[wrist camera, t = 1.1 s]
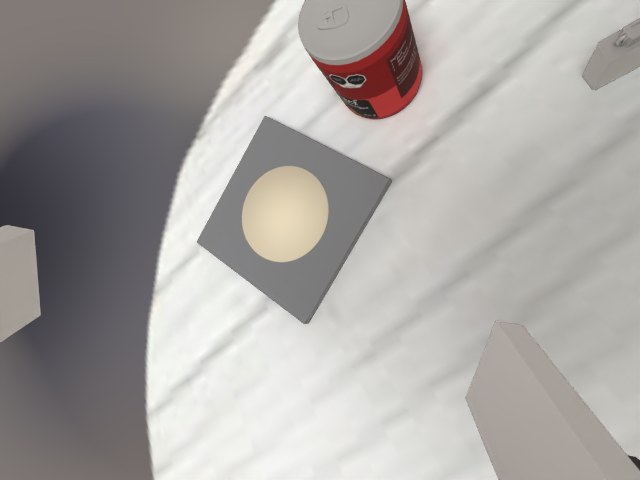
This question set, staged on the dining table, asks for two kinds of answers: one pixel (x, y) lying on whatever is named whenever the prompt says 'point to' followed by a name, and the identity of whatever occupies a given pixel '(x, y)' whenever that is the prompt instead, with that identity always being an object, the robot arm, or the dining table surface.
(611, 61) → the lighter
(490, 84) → the dining table surface
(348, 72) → the canned food
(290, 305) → the mat
